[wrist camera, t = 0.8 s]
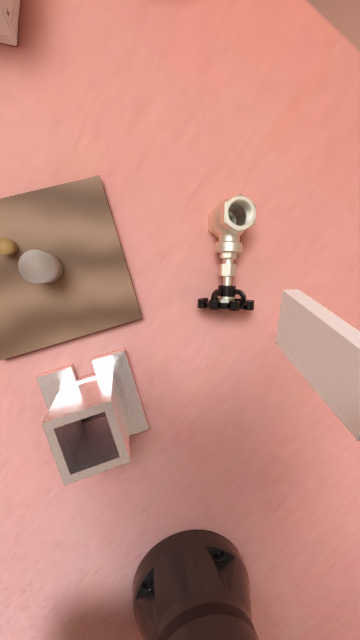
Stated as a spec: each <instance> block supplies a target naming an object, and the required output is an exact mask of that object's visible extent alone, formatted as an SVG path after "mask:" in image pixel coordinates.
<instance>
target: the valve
mask: <svg viewBox="0 0 360 640" xmlns="http://www.w3.org/2000/svg"><path fill="white" fill-rule="evenodd" d="M229 217H230V218H231V220H230V218H229ZM255 218H256V205H255V204H254V203H253V202H252V201H251V200H249V199H248V198H246V197H245V196H243V195H242V194H240V195H238V196H236V197H234V198H232V199H226V200H223V201H221V202H220V203H218V204H217V205H216V207H215V208H214V210H213V212H211V213H210V214H209V217H208V231H209V232H210V233H212V234H213V235H215V236H216V237H217V238H219V242H217V243H216V245H215V252H216V253H220V258H222V259H223V264H220V268H219V276H223V285H218V289H216V290H215V291H214V292H213V293H212V296H211V300H209V301H208V298H201V299H198V308H207V307H209V309H211V310H219V309H229V310H231V311H239V309H243V310H254V300H247V301H246V295H245V293H244V292H243V291H241V290H238V289H236V286H231V284H232V276H233V277H234V276H236V264H233V260H234V259H236V258H237V253H242V243H240V235H241V234H242V233H243V232H244V231H245V230H246V229H247V228H249V227H250V226H252V225H254V224H255ZM231 221H232V222H231ZM235 294H239V295H240V296H241V299H235Z"/></svg>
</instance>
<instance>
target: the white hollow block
mask: <svg viewBox="0 0 360 640" xmlns="http://www.w3.org/2000/svg"><path fill="white" fill-rule="evenodd" d="M92 363H93V366H94V369H95V372H96V373H93V374H90V375H86V376H83V377H80V378H77V376H76V373H75V370H74V367H73V364H71V365H68V366H65V367H61V368H58V369H55V370H52V371H48V372H45V373H42V374H39V376H38V377H37V380H38V383H39V386H40V388H41V391H42V394H43V397H44V400H45V402H46V405H47V408H48V413H47V415H46V417H45V419H44V420H43V422H42V426H43V428H44V431H45V434H46V437H47V439H48V442H49V445H50V447H51V450H52V453H53V456H54V458H55V461H56V464H57V467H58V469H59V472H60V475H61V477H62V480H63V483H64V485H67V484H70V483H72V482H75V481H78V480H81V479H84V478H86V477H89V476H92V475H95V474H98V473H101V472H103V471H106V470H109V469H112V468H115V467H117V466H120V465H123V464H126V463H129V462H131V461H130V445H129V436H131V435H134V434H137V433H140V432H142V431H145V430H148V429H149V426H148V422H147V419H146V416H145V413H144V410H143V406H142V403H141V400H140V397H139V394H138V390H137V387H136V384H135V381H134V378H133V374H132V371H131V368H130V365H129V362H128V358H127V355H126V352H125V349H124V348H123V349H120V350H116V351H113V352H110V353H107V354H103V355H100V356H97V357H94V358H93V359H92ZM102 412H105V414H106V416H103V417H100V418H97V419H94V420H91V421H88V422H85V423H83V422H82V419H84V418H87V417H90V416H93V415H96V414H99V413H102Z"/></svg>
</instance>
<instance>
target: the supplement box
mask: <svg viewBox="0 0 360 640" xmlns="http://www.w3.org/2000/svg"><path fill="white" fill-rule="evenodd" d="M19 8H20V0H0V43H4V44H8V45H13V46H17V36H18V19H19Z"/></svg>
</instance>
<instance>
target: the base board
mask: <svg viewBox="0 0 360 640" xmlns="http://www.w3.org/2000/svg"><path fill="white" fill-rule="evenodd" d="M141 318H142V316H141V312H140V309H139V305H138V302H137V299H136V295H135V292H134V289H133V285H132V282H131V279H130V275H129V272H128V269H127V265H126V262H125V259H124V255H123V252H122V249H121V245H120V242H119V239H118V235H117V232H116V229H115V225H114V222H113V219H112V215H111V212H110V209H109V205H108V202H107V198H106V195H105V192H104V188H103V185H102V182H101V178H100V175H99V176H95V177H91V178H86V179H82V180H78V181H74V182H69V183H65V184H61V185H57V186H53V187H48V188H44V189H40V190H36V191H31V192H27V193H23V194H19V195H14V196H10V197H6V198H2V199H0V361H1V360H4V359H7V358H11V357H14V356H17V355H21V354H24V353H27V352H31V351H34V350H37V349H41V348H44V347H47V346H51V345H54V344H57V343H61V342H64V341H67V340H71V339H74V338H77V337H81V336H84V335H87V334H91V333H94V332H97V331H101V330H104V329H107V328H111V327H114V326H117V325H121V324H124V323H127V322H131V321H134V320H138V319H141Z"/></svg>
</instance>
